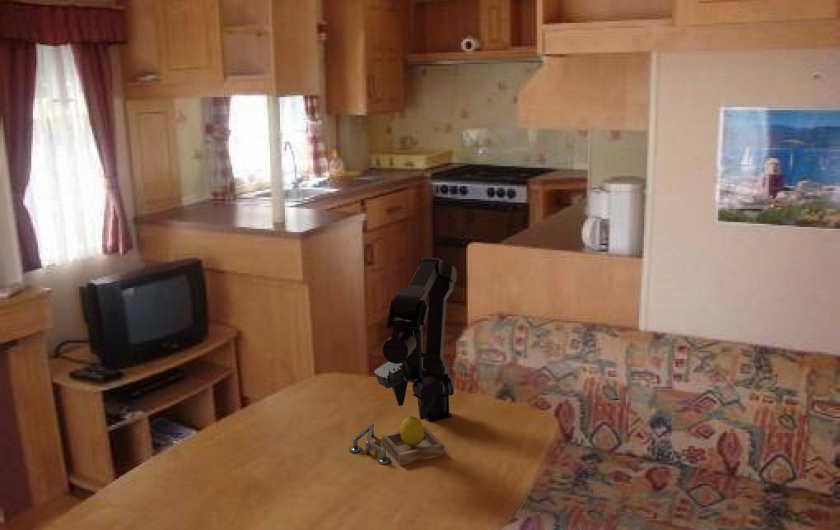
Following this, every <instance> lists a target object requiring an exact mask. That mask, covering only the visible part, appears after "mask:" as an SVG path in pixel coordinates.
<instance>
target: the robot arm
mask: <svg viewBox="0 0 840 530" xmlns="http://www.w3.org/2000/svg"><path fill="white" fill-rule="evenodd" d="M457 272H458V271H457V269H456V267H455V266H454V265H453V264H452V263H449V262H446V261H443V260H442V259H440V258H439V257H423V258H420V260H419V263H418V267H417V270H416V271H415V273H414V275H413V276H412V278H411V280H410V282H409V284H408V286H406V287H404V288H401V289H399V290H398V291H397V293H396V294H395V295H394V297H393V298H392V299H391V301H390V306H389V311H388V317H387V321H386V329H392V332H391V333H390V337H389V338H388V339H387V340H386V341H385V342H384V344H383V347H382V353H383V356H384V358H385V361H382V362H381V363H380V364H379V366H378V368H376V369H375V370H374V375H375V378H376V380H377V382H378V385H382V386H383V387H384V388H385V389H392V391H393V394H394V397H395V399H396V402H397V405H398V406H399V407H401V406H404V404H405V403H404V402H405V399H406V395H407V393H406V392H407V389H408V384H409V382H410V383H412V393H413V394H412V396H413V397H414V398H415V399H416V400H417V405H418V406H417V407H418V414H419V419H420V420H421V421H422V420H425V419H426V420H427V421H429V422H433V421H439V420H443V419H447V418H452V417H453V414H452V413H450V397H451V396H454V394H455V381H454V379H453V378H452V376H451V374H450V366H449V364H448V363H447V361H446V358H445V357H444V356H445V355H444V351H445V350H444V349H445V338H446V337H445V335H446V334H445V333H446V318H447V316H446V315H447V303H448V301H447V300H448V298H449V297H450V295H451V293H452V292H453V290H455V289H454V288H455V283H456V282H457V278H458V274H457ZM427 298H428V301H427ZM395 319H396V320H395ZM426 323H427V325H426ZM424 326H426V339H425V340H426V341H425V351H424V350H423V327H424Z"/></svg>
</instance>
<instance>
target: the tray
mask: <svg viewBox="0 0 840 530" xmlns="http://www.w3.org/2000/svg"><path fill="white" fill-rule="evenodd" d="M423 427H424V438H423V440H422V442H421V443H420V444H419V445H417V446H415V447H414V448H412V447H410V446H408V445H406V444H405V443H404V442H403V441H402V438H401V434H400V431H399V430H398V431H394V432H389V433H385V434H382V435H381V444H382V445H381V446H382V448H385V449H386V452H388V454H389V455H390V456H391V457H392V458H393V460H394V461H396V463H397V464H398V465H399V466H404V465H409V464H412V463H413V464H414V463H418V462H422V461H425V460H430V459H434V458H439V457H442V456H445V445H444V443H443V442H441V441H440V440H439V438H437V436H436V435H434V434H433V433H432V432H431V430H429V429H428V428H427V427H426V426H425V425H423Z"/></svg>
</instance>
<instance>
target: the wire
mask: <svg viewBox="0 0 840 530" xmlns="http://www.w3.org/2000/svg"><path fill="white" fill-rule="evenodd" d="M366 434H367V438H366V440H365V454H366V455H367V456H369V455H371V449H374V450H376V451H377V452H380V453H381V456H379V457H378V458H377V459H376V460H377V462H376V463H378V464H380V465H388V464H390V463H391V461H392V460H391V457H390V456H387V450H386V449H385V448H384V447H383V446H379V445H377V444H375V443H372V442H371V439H372V438H374V437H375V424H373V423H370V424H369V425H368V426H367V427H366V428H364V429H363V430H362V431H361V432H360V433H357V435H355V437H353V438H352V444H353V445H351V446H350V447H349V448H348V452H350V453H351V452H352V453H353V454H357V453H361V452H362V451H363V447H362V446H360V445H359V444H358V443H359V442H358V441H359V440H360V439H362V437H364V436H365V435H366Z"/></svg>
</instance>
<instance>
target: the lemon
mask: <svg viewBox="0 0 840 530" xmlns="http://www.w3.org/2000/svg"><path fill="white" fill-rule="evenodd" d="M423 426H424V424H423V422H422V420H421V419H420V418H419V417H416V416H415V415H410V416H408V417H406V418H405V419H404V420H403V421H402V423H401V426H400V434H401V438H402V441H403V442H404V443H405V444H406V445H408V446H410V447H412V448H414V447H415V446H417V445H419V444H420V443H421V442H422V440H423V438H424V427H423Z"/></svg>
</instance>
